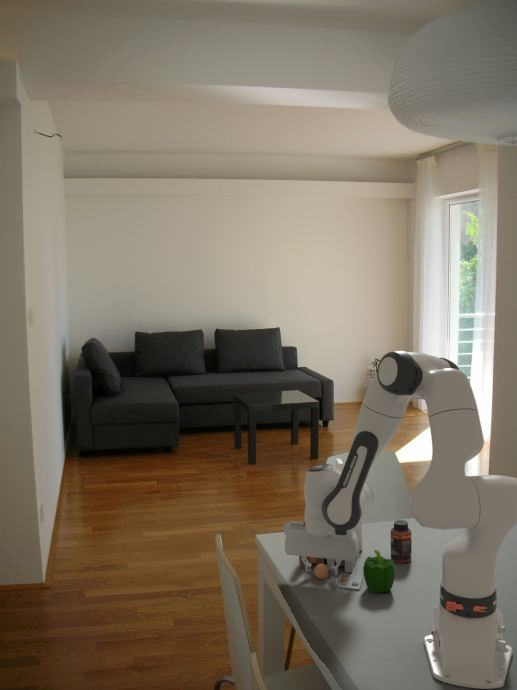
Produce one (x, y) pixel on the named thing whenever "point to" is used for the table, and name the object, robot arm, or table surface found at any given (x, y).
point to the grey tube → (348, 565)
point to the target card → (350, 582)
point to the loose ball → (321, 571)
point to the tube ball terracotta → (312, 560)
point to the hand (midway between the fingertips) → (321, 572)
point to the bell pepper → (379, 573)
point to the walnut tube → (319, 561)
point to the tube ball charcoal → (341, 563)
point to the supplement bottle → (401, 542)
